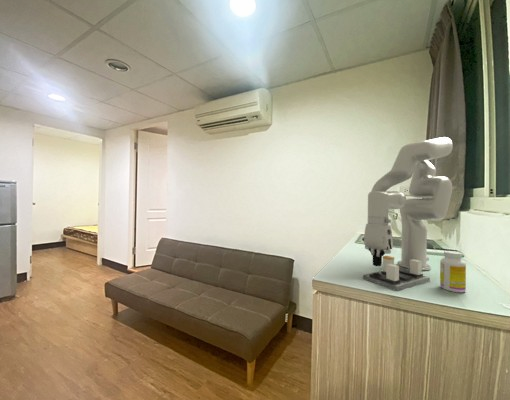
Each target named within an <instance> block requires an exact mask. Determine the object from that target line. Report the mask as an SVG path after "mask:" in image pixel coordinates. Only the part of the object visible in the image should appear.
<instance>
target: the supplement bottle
mask: <svg viewBox="0 0 510 400" xmlns="http://www.w3.org/2000/svg"><path fill="white" fill-rule="evenodd" d="M443 255H444V257H443V258H441V259H440V260H439V261H440V262H439V263H440V264H439V265H440V266H439V267H440V268H439V269H440V273H439V275H440V276H439V282H440V283H439V284H440V287H441V288H442V289H443V290H446V291H448V292H452V293H464V292H467V291H466V285H467V282H466V279H467V277H466V276H467V272H466V271H467V265H466V264H467V263H466V262H465V261H464V260H462V257H463V253H461V252H459V251H454V250H453V251H452V250H445V251H444V250H443Z"/></svg>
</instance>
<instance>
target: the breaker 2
mask: <svg viewBox="0 0 510 400" xmlns="http://www.w3.org/2000/svg"><path fill="white" fill-rule="evenodd" d="M409 271H410V273H412V274H416V275H420V274H423V273H422V271H423V270H422V261H419V260H414V259H412V260H410V269H409Z"/></svg>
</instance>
